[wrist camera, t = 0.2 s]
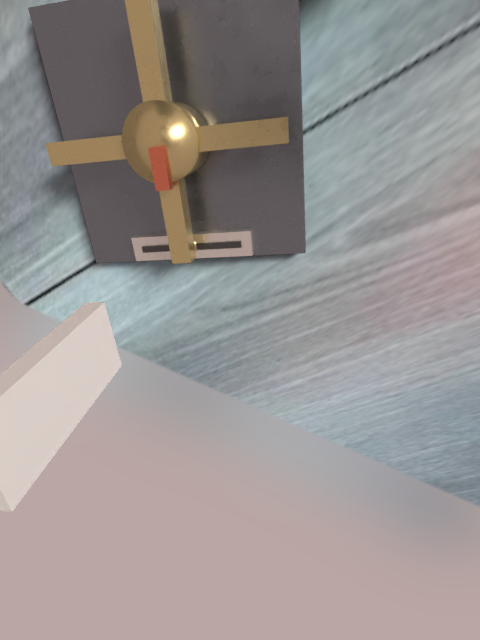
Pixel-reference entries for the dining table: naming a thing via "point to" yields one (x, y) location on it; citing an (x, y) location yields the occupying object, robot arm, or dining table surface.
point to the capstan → (165, 133)
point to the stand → (201, 94)
